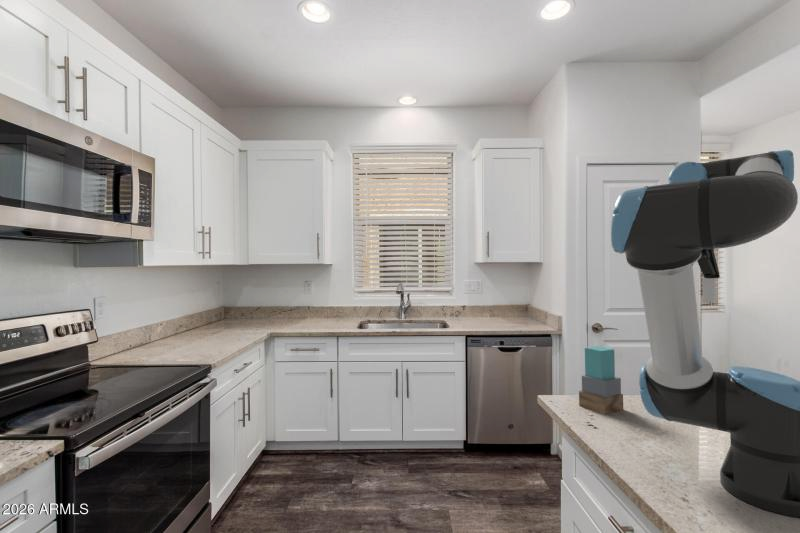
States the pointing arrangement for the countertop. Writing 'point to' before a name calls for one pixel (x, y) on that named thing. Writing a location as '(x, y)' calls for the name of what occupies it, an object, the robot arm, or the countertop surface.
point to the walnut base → (601, 402)
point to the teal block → (599, 363)
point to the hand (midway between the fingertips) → (697, 303)
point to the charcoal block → (601, 386)
